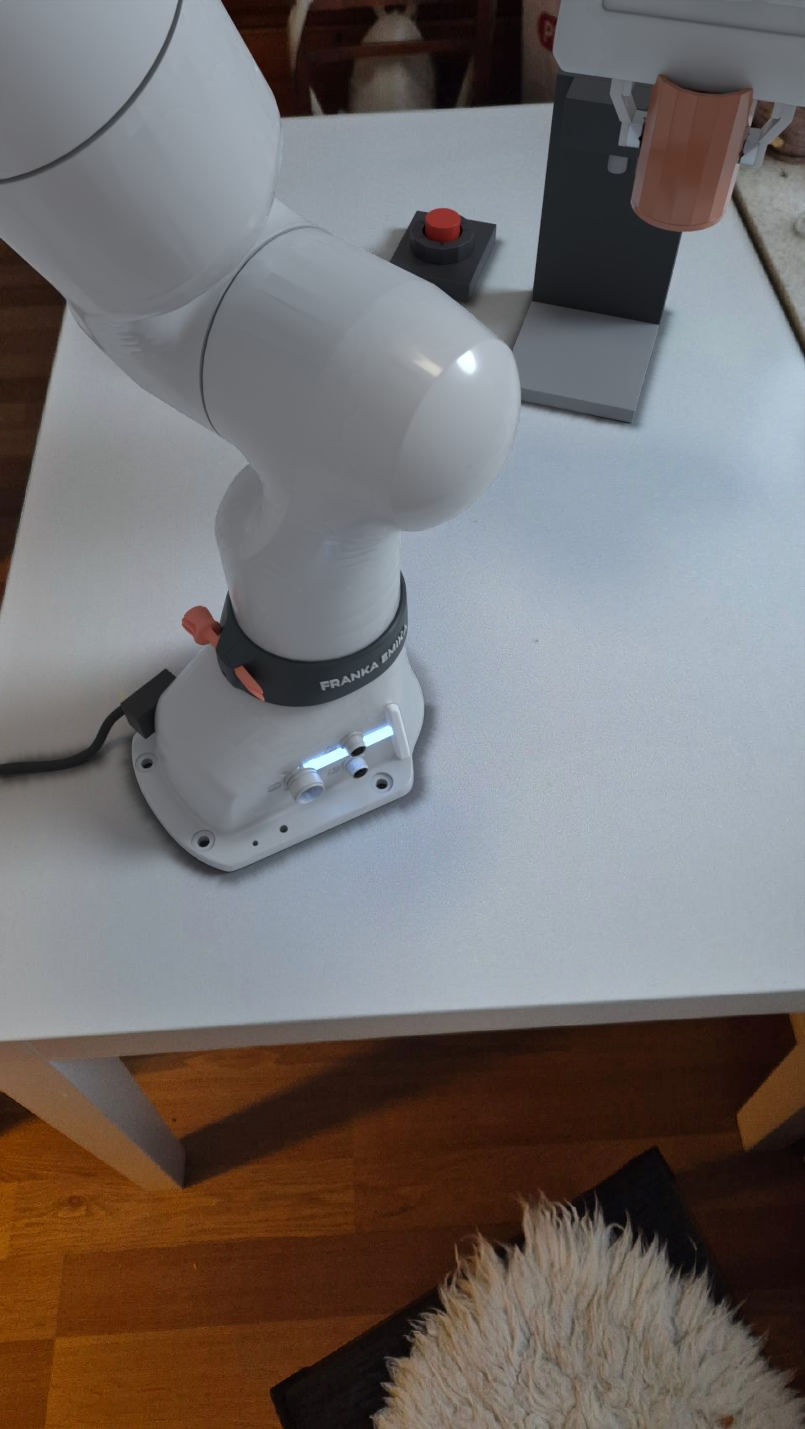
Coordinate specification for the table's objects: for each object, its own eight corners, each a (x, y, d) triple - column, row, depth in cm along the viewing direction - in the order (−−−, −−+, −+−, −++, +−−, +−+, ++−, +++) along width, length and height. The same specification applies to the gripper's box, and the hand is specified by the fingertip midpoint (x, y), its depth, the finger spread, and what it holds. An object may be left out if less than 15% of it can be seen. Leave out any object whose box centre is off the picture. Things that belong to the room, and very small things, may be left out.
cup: (677, 244, 70) (710, 108, 62) (610, 199, 73) (633, 64, 65) (746, 209, 72) (786, 74, 64) (678, 166, 75) (708, 32, 67)
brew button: (454, 246, 104) (454, 230, 102) (420, 240, 104) (420, 224, 103) (463, 227, 106) (464, 211, 104) (430, 221, 106) (431, 205, 105)
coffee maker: (632, 423, 95) (688, 183, 75) (497, 396, 97) (518, 156, 77) (663, 313, 103) (720, 73, 84) (539, 290, 105) (567, 51, 86)
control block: (468, 303, 104) (470, 268, 101) (385, 288, 106) (384, 253, 103) (495, 243, 110) (498, 207, 107) (416, 229, 112) (416, 194, 108)
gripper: (554, -88, 58) (532, 153, 70) (926, -44, 54) (836, 203, 66) (579, -131, 61) (553, 106, 73) (932, -93, 57) (845, 151, 69)
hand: (690, 153), depth 69 cm, fingers closed on cup, 7 cm apart
